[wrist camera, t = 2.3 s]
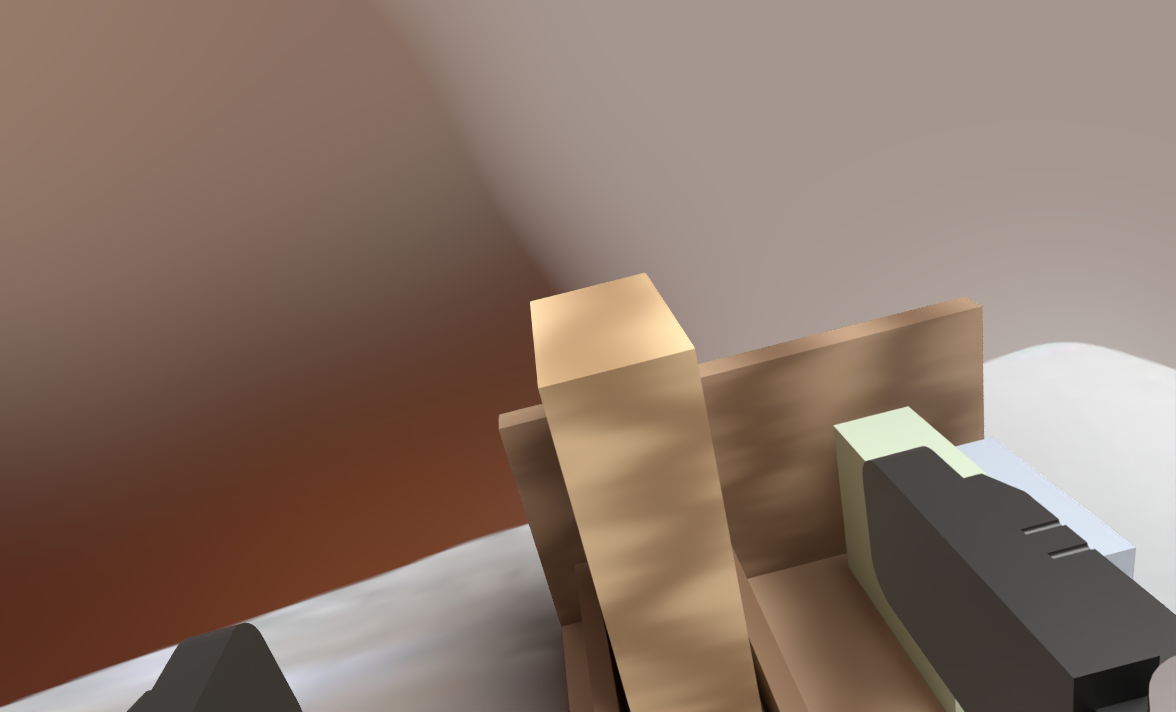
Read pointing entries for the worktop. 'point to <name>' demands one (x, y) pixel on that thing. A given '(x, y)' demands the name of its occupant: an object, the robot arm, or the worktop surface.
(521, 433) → the rack
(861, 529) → the offcut
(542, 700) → the worktop surface
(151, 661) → the worktop surface
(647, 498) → the light brown wooden block
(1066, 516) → the offcut
